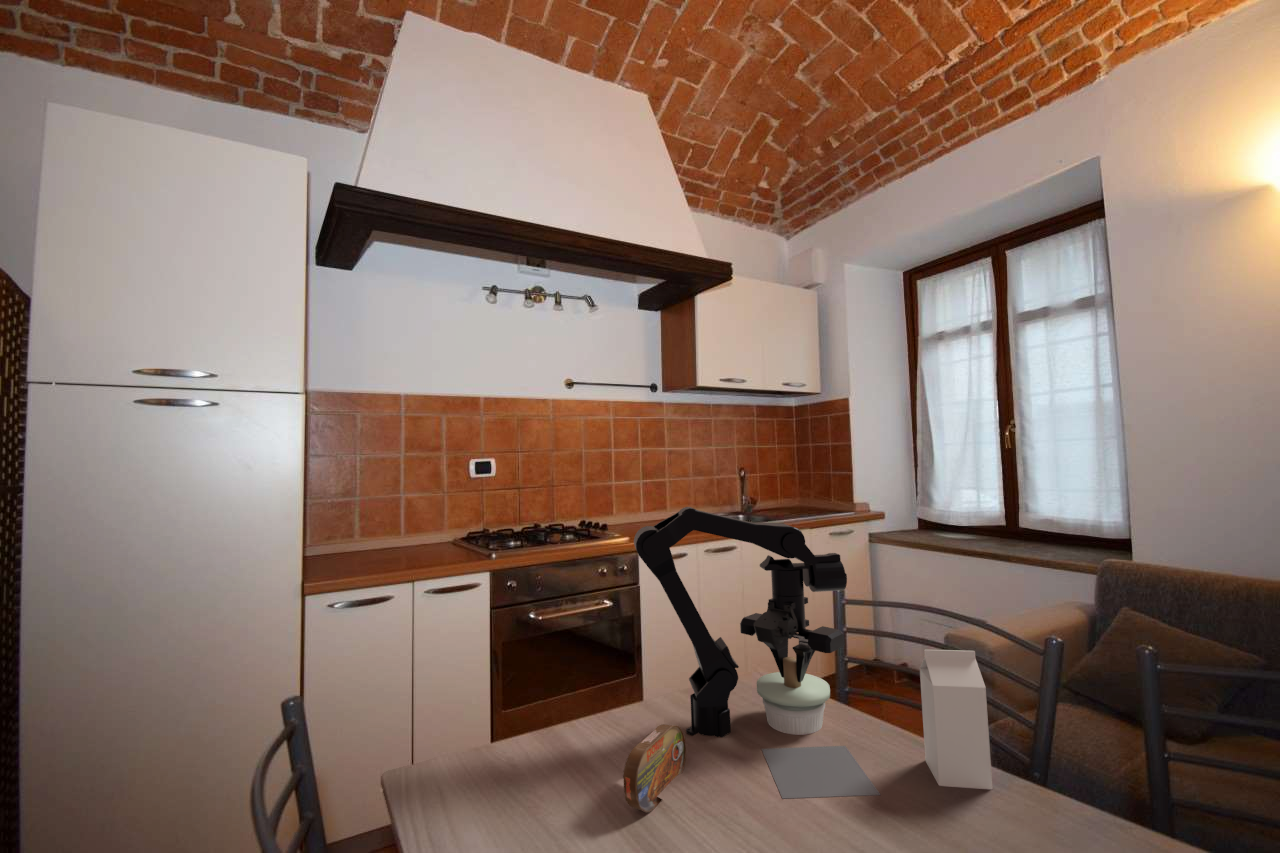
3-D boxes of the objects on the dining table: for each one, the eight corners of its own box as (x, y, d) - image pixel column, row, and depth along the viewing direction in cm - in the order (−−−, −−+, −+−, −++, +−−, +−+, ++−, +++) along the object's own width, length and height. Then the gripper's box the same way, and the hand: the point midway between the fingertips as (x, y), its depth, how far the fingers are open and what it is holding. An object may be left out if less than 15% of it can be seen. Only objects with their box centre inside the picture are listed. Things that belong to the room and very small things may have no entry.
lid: (742, 692, 105) (741, 661, 106) (781, 672, 114) (780, 643, 115) (806, 713, 96) (804, 678, 96) (843, 690, 105) (841, 658, 105)
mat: (782, 804, 82) (782, 798, 82) (761, 753, 96) (761, 748, 96) (880, 800, 82) (880, 794, 82) (845, 750, 96) (845, 745, 96)
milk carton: (993, 795, 82) (983, 659, 83) (939, 791, 83) (931, 657, 85) (974, 768, 89) (966, 643, 90) (925, 765, 90) (917, 642, 92)
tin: (639, 825, 78) (637, 761, 79) (620, 818, 80) (618, 756, 80) (688, 771, 91) (686, 717, 92) (671, 767, 93) (669, 713, 93)
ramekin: (804, 748, 97) (802, 716, 97) (751, 727, 105) (749, 697, 106) (838, 726, 104) (837, 697, 105) (786, 708, 113) (785, 680, 113)
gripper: (720, 593, 107) (724, 679, 106) (811, 610, 94) (816, 708, 93) (755, 583, 115) (758, 663, 114) (843, 597, 102) (848, 687, 101)
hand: (792, 679), depth 105 cm, fingers closed on lid, 3 cm apart
